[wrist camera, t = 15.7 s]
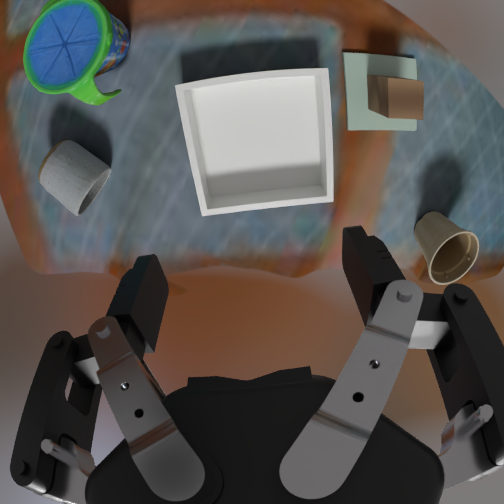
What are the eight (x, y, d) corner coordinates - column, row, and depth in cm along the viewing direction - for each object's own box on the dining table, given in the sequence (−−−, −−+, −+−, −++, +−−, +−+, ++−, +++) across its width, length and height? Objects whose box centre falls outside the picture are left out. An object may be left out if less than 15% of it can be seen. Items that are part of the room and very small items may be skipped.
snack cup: (59, 18, 22) (11, 15, 14) (128, -20, 21) (91, -41, 13) (87, 113, 31) (44, 133, 23) (158, 82, 30) (127, 89, 21)
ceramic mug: (74, 129, 32) (43, 146, 26) (119, 160, 35) (93, 183, 29) (50, 186, 37) (22, 211, 31) (89, 215, 40) (66, 243, 34)
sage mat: (342, 52, 28) (343, 52, 27) (413, 59, 27) (415, 59, 27) (346, 129, 34) (348, 130, 33) (414, 129, 33) (416, 130, 33)
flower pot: (454, 235, 43) (480, 266, 36) (411, 260, 46) (433, 294, 39) (446, 192, 38) (477, 220, 31) (398, 218, 41) (424, 251, 34)
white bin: (182, 83, 30) (175, 85, 27) (319, 67, 29) (327, 68, 26) (206, 201, 39) (202, 216, 36) (325, 188, 38) (333, 201, 35)
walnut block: (366, 74, 29) (387, 77, 24) (398, 77, 29) (423, 81, 24) (368, 109, 31) (388, 118, 27) (399, 110, 31) (423, 119, 26)
